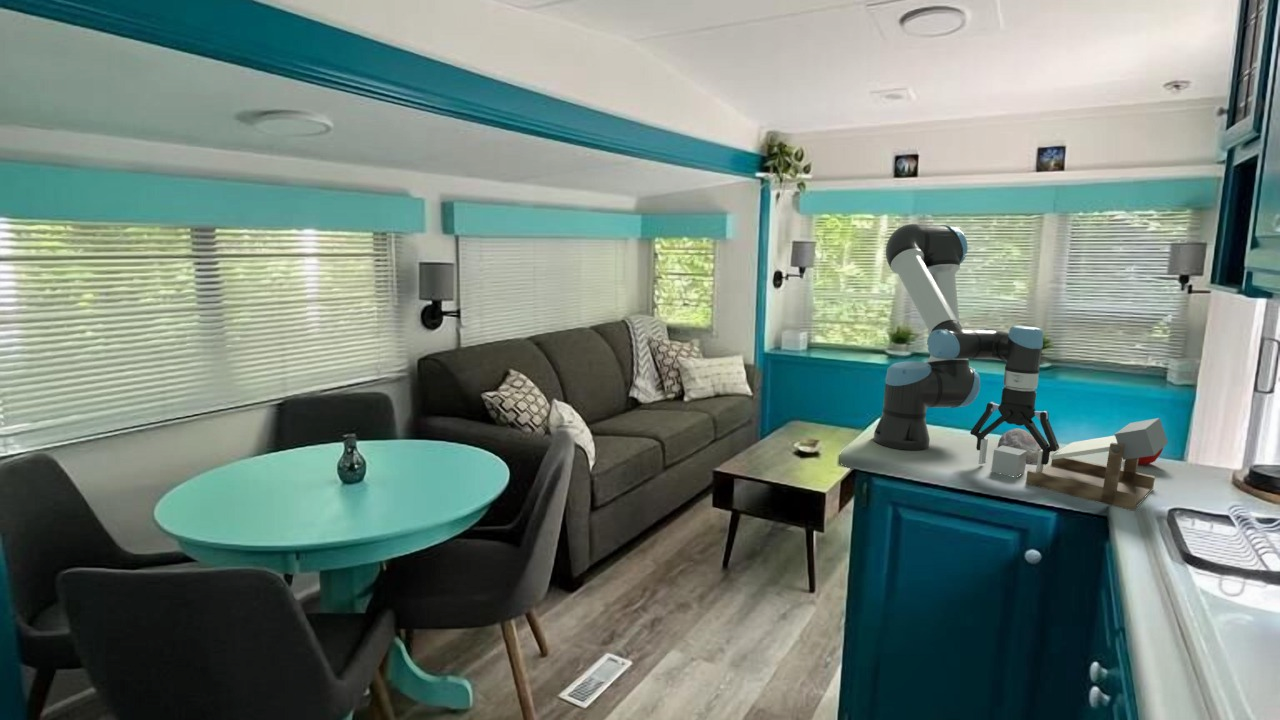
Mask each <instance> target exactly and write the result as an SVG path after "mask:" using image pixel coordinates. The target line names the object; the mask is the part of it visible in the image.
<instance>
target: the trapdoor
mask: <svg viewBox="0 0 1280 720" xmlns="http://www.w3.org/2000/svg"><path fill="white" fill-rule="evenodd" d="M1161 421H1162V420H1161V418H1160V417H1157V418H1152V419H1151V418H1150V419H1146V420H1140V421H1135V422H1129V423H1128V424H1127V425H1125V426H1124V427H1122V428H1121V429H1120V430H1118V431H1117V432H1115V433H1114V435H1109V436H1104V437H1103V436H1102V437H1098V438H1097V437H1096V438H1090V439H1085V440H1077V441H1071V442H1070V443H1068V444H1067V445H1066V446H1064V447H1062V448H1061V449H1060V448H1059V449H1058V450H1057V451H1055V452H1054V453H1052V454H1051V455H1050V457H1051V461H1052V460H1053V459H1060V458H1067V457H1069V458H1073V457H1078V456H1085V455H1093V454H1099V453H1106V452H1109V448H1110V443H1117V444H1122V445H1124V451H1123V457H1122V461H1125V460H1126V459H1133V458H1140V457H1147V456H1155V455H1156V454H1157V453H1158V452H1159V451H1160V450H1161V449H1162V448H1163V447H1164V448H1165V446H1166V445H1167V444H1168V443H1169V441H1168V438H1167V435H1166V433H1165V430H1164V427H1163V425H1162V422H1161ZM1164 448H1163V449H1164Z"/></svg>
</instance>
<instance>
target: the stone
mask: <svg viewBox="0 0 1280 720" xmlns="http://www.w3.org/2000/svg"><path fill="white" fill-rule="evenodd" d="M1002 445H1003V446H1008V447H1012V448H1017V449H1021V450H1026V451H1027V457H1026V462H1030V463H1029V464H1031V463H1037V461H1038V454H1039V451H1041V450H1042V449H1041V447H1040V446H1039V445H1038V443H1037V442H1036V440H1035V439H1034V437H1033V436H1032V435H1031V433H1030V432H1029V431H1028V430H1025V429H1022V428H1012V429H1009V430H1007V431H1006V432H1004V433H1003V434H1002V435H1001V437H1000V438H999V440H998V444H997V448H998V447H1000V446H1002Z"/></svg>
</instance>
